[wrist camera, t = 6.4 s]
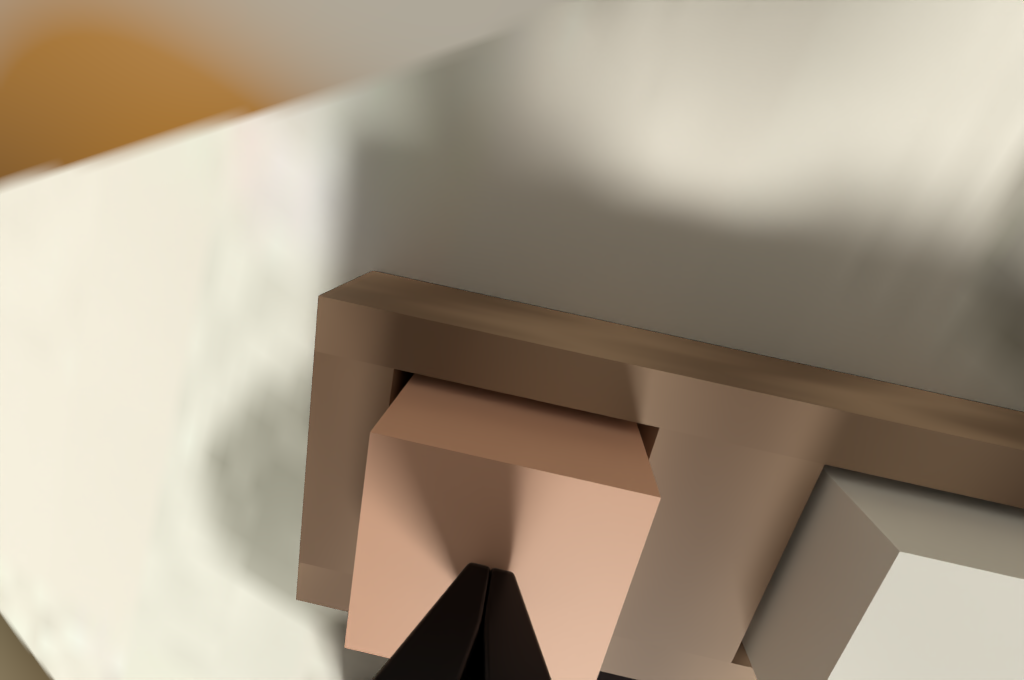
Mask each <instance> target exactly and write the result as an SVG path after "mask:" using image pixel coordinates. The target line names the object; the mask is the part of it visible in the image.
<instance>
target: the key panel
mask: <svg viewBox="0 0 1024 680" xmlns="http://www.w3.org/2000/svg"><path fill="white" fill-rule="evenodd" d="M415 373H416V374H420V375H425V376H429V377H434V378H438V379H443V380H447V381H452V382H456V383H461V384H465V385H470V386H474V387H479V388H483V389H488V390H492V391H497V392H501V393H506V394H510V395H515V396H519V397H524V398H528V399H533V400H537V401H542V402H546V403H551V404H555V405H560V406H564V407H569V408H573V409H578V410H582V411H587V412H591V413H596V414H600V415H605V416H609V417H614V418H618V419H623V420H627V421H632V422H636V423H637V426H638V429H639V432H640V435H641V438H642V441H643V444H644V447H645V450H646V453H647V456H648V459H649V463H650V466H651V469H652V472H653V475H654V478H655V481H656V484H657V487H658V490H659V493H660V496H661V499H660V502H659V505H658V508H657V511H656V514H655V516H654V519H653V522H652V525H651V528H650V530H649V533H648V536H647V539H646V542H645V545H644V547H643V550H642V553H641V556H640V559H639V562H638V564H637V567H636V570H635V573H634V576H633V578H632V581H631V584H630V587H629V590H628V593H627V595H626V598H625V601H624V604H623V607H622V609H621V612H620V615H619V618H618V621H617V624H616V626H615V629H614V632H613V635H612V638H611V641H610V643H609V646H608V649H607V652H606V655H605V657H604V660H603V663H602V666H601V669H600V671H602V672H607V673H611V674H615V675H619V676H624V677H628V678H632V679H636V680H757V678H756V675H755V673H754V670H753V668H752V665H751V663H750V660H749V658H748V655H747V653H746V650H745V648H744V646H743V643H742V639H743V637H744V635H745V633H746V631H747V628H748V626H749V624H750V622H751V620H752V618H753V616H754V614H755V611H756V609H757V607H758V605H759V603H760V601H761V599H762V597H763V594H764V592H765V590H766V588H767V586H768V584H769V582H770V580H771V577H772V575H773V573H774V571H775V569H776V567H777V565H778V563H779V560H780V558H781V556H782V554H783V552H784V550H785V548H786V546H787V543H788V541H789V539H790V537H791V535H792V533H793V531H794V529H795V526H796V524H797V522H798V520H799V518H800V516H801V514H802V512H803V509H804V507H805V505H806V503H807V501H808V499H809V497H810V495H811V492H812V490H813V488H814V486H815V484H816V482H817V480H818V478H819V475H820V473H821V471H822V469H823V467H824V465H830V466H834V467H839V468H843V469H848V470H852V471H857V472H861V473H866V474H870V475H875V476H879V477H884V478H888V479H893V480H897V481H902V482H906V483H911V484H915V485H920V486H924V487H929V488H933V489H938V490H942V491H947V492H951V493H956V494H960V495H965V496H969V497H974V498H978V499H983V500H987V501H992V502H996V503H1001V504H1005V505H1010V506H1014V507H1019V508H1023V509H1024V412H1020V411H1016V410H1011V409H1007V408H1002V407H997V406H993V405H988V404H984V403H979V402H975V401H970V400H965V399H961V398H956V397H952V396H947V395H942V394H938V393H933V392H929V391H924V390H919V389H915V388H910V387H906V386H901V385H896V384H892V383H887V382H883V381H878V380H873V379H869V378H864V377H860V376H855V375H850V374H846V373H841V372H837V371H832V370H827V369H823V368H818V367H814V366H809V365H804V364H800V363H795V362H791V361H786V360H781V359H777V358H772V357H768V356H763V355H758V354H754V353H749V352H745V351H740V350H735V349H731V348H726V347H722V346H717V345H712V344H708V343H703V342H699V341H694V340H689V339H685V338H680V337H676V336H671V335H667V334H662V333H657V332H653V331H648V330H644V329H639V328H634V327H630V326H625V325H621V324H616V323H611V322H607V321H602V320H598V319H593V318H588V317H584V316H579V315H575V314H570V313H565V312H561V311H556V310H552V309H547V308H542V307H538V306H533V305H529V304H524V303H519V302H515V301H510V300H506V299H501V298H496V297H492V296H487V295H483V294H478V293H473V292H469V291H464V290H460V289H455V288H450V287H446V286H441V285H437V284H432V283H427V282H423V281H418V280H414V279H409V278H404V277H400V276H395V275H391V274H386V273H381V272H377V271H371V272H369V273H366V274H364V275H362V276H360V277H358V278H356V279H354V280H351V281H349V282H347V283H345V284H343V285H341V286H338V287H336V288H334V289H332V290H330V291H328V292H326V293H323V294H321V295H319V296H318V309H317V323H316V337H315V350H314V364H313V377H312V391H311V404H310V418H309V432H308V445H307V459H306V472H305V486H304V499H303V513H302V527H301V540H300V554H299V567H298V581H297V594H296V600H300V601H305V602H309V603H313V604H317V605H322V606H326V607H330V608H334V609H339V610H343V611H347V612H349V604H350V596H351V587H352V579H353V571H354V562H355V554H356V546H357V537H358V529H359V521H360V512H361V504H362V496H363V487H364V479H365V470H366V462H367V454H368V445H369V437H370V432H371V430H372V429H373V428H374V426H375V425H376V424H377V422H378V421H379V420H380V418H381V417H382V416H383V414H384V413H385V412H386V410H387V409H388V408H389V407H390V405H391V404H392V403H393V401H394V400H395V399H396V397H397V396H398V395H399V393H400V392H401V391H402V389H403V388H404V387H405V385H406V384H407V383H408V381H409V380H410V379H411V378H412V376H413V375H414V374H415Z"/></svg>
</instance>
